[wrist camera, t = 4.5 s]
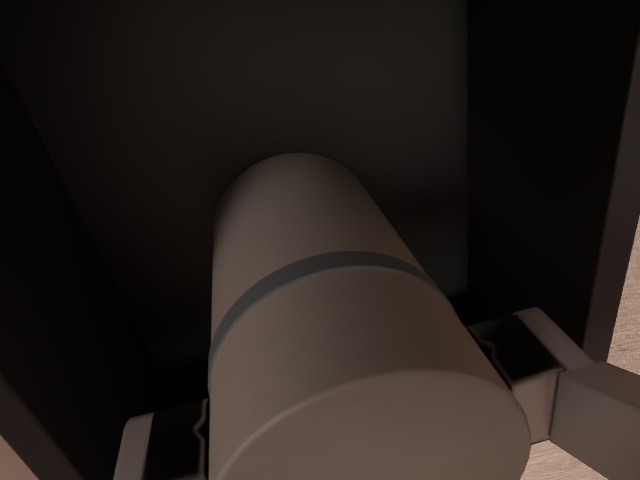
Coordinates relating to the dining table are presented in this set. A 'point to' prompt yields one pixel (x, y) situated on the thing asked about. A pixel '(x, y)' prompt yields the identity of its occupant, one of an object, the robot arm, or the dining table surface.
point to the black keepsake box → (281, 138)
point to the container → (341, 344)
